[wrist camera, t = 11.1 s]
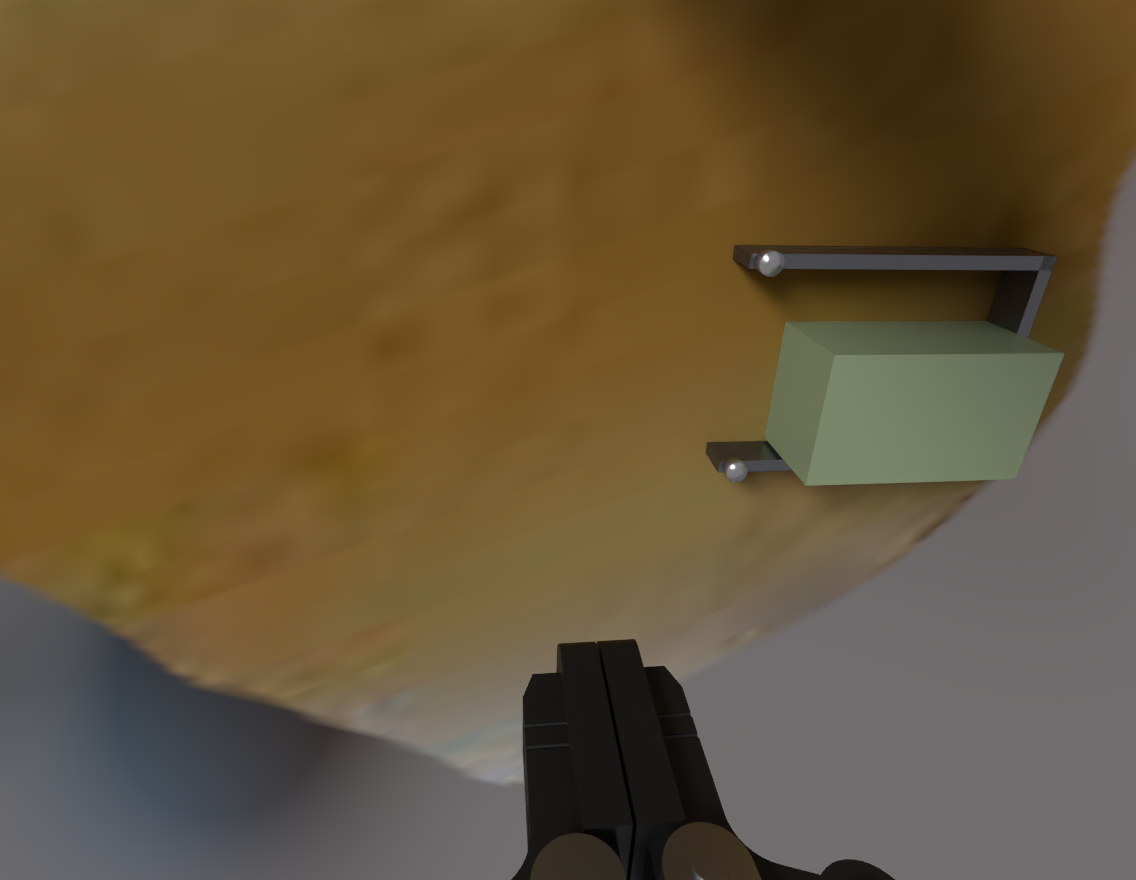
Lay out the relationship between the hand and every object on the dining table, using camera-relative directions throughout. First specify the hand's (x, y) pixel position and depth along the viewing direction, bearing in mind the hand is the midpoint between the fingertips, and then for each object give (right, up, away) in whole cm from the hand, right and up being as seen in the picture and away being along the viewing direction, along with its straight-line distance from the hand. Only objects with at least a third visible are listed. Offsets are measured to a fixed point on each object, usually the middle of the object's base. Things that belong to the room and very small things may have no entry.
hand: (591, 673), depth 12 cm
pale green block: (+15, +8, +19) cm, 25 cm away
